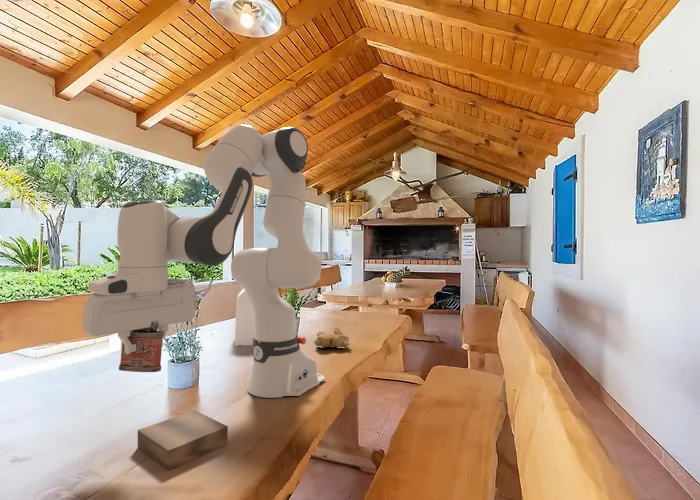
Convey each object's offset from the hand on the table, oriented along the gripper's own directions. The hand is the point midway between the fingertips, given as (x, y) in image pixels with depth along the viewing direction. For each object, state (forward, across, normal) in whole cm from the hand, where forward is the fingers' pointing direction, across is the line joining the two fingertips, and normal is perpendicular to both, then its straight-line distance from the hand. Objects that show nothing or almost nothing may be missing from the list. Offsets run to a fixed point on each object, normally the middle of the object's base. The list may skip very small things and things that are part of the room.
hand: (144, 350), depth 78 cm
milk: (+20, -64, -52) cm, 85 cm away
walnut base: (+18, -4, +8) cm, 20 cm away
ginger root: (+20, -80, -21) cm, 85 cm away
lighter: (+4, +1, 0) cm, 4 cm away
